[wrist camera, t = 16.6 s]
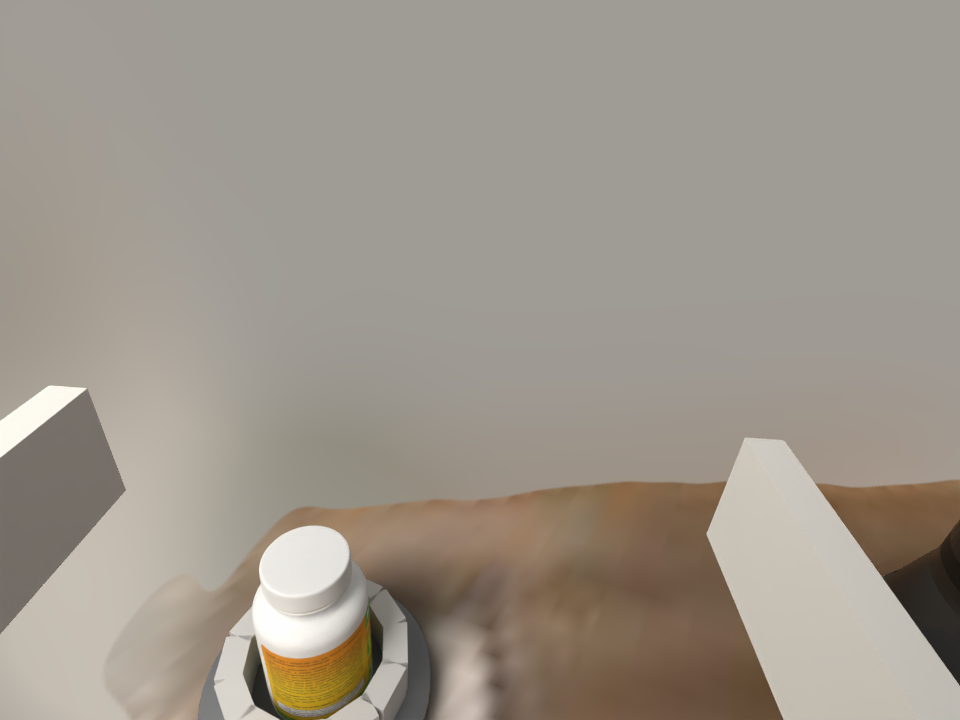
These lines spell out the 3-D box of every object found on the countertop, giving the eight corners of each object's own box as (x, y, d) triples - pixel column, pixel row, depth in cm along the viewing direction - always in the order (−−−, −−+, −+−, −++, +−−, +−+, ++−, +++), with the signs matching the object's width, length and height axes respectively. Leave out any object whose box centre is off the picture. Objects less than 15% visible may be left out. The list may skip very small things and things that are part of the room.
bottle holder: (463, 639, 38) (467, 599, 36) (351, 882, 27) (346, 846, 24) (303, 569, 42) (297, 529, 40) (147, 752, 31) (126, 711, 28)
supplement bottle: (390, 690, 33) (387, 571, 28) (292, 757, 30) (265, 636, 24) (347, 614, 37) (336, 497, 32) (256, 666, 34) (226, 544, 28)
